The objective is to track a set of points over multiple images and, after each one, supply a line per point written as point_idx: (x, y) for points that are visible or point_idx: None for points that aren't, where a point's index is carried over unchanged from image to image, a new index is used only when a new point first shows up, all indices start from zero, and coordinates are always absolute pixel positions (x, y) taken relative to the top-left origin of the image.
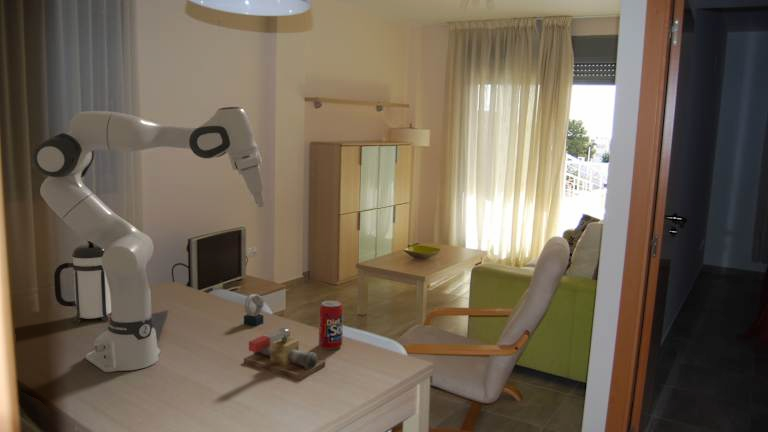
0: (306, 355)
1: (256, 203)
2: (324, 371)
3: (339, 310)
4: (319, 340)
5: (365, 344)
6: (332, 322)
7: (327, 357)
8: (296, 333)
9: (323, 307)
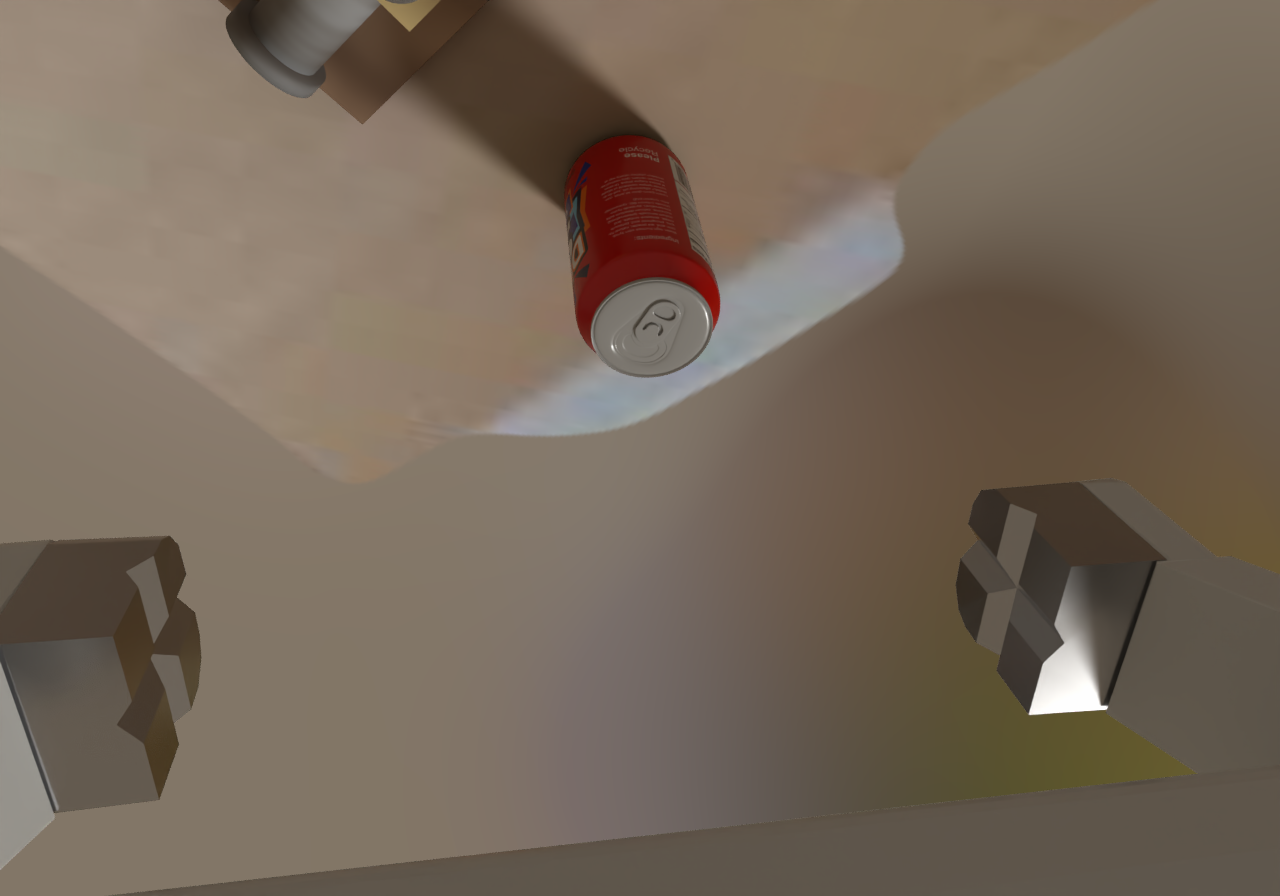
0: (250, 39)
1: (996, 492)
2: None
3: (588, 345)
4: (620, 149)
5: None
6: (572, 270)
7: (481, 144)
8: (877, 41)
9: (622, 277)
